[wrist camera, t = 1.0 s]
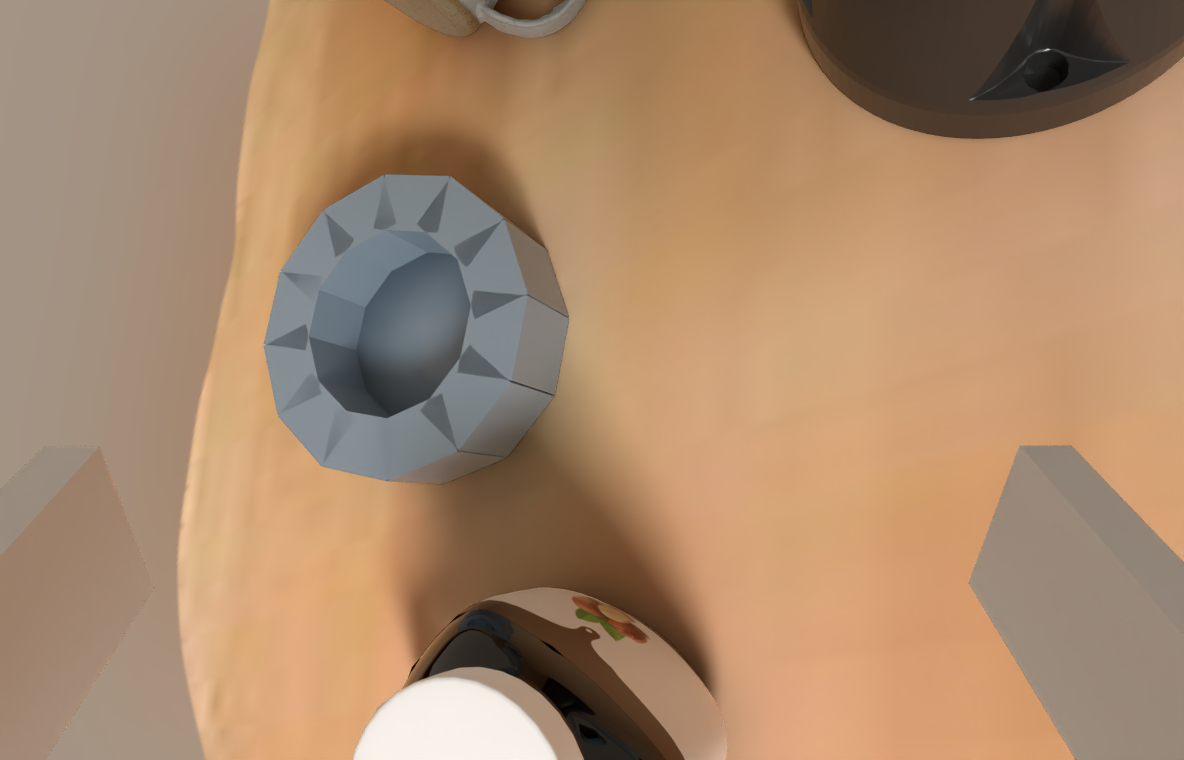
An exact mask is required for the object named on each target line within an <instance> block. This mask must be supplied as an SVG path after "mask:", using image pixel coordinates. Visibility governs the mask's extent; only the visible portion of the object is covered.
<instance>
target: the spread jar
mask: <svg viewBox="0 0 1184 760" xmlns="http://www.w3.org/2000/svg"><path fill="white" fill-rule="evenodd" d="M726 756H727V734H726V728H725V722H724V719H723V717H722V714H721V712H720V709H719V707H718V706H717V704H716V702H715V700H714V699H713V697H712V695H711V693H710V692H709V690H708V689H707V687H706V686H705V684H704V683H703V681H702V680H701V678H700V677H699V676H698V674H697V673H696V672H695V670H694V669H693V668H692V667H691V665H690V664H689V663H688V662H687V661H686V659H685V658H684V657H683V656H682V655H681V654H680V653H679V652H678V651H677V650H676V649H675V648H674V647H673V646H672V645H671V644H670V643H669V642H668V641H667V640H666V639H665V638H664V637H662V636H661V635H660V634H659V633H658V632H656V631H655V630H654V629H652V628H651V627H649V626H648V625H647V624H645V623H644V622H642V621H640V620H639V619H637V618H636V617H634V616H632V615H630V614H628V613H626V612H625V611H623V610H620V609H618V608H616V607H614V606H612V605H609V604H607V603H605V602H602V601H600V600H598V599H595V598H593V597H590V596H588V595H585V594H582V593H578V592H575V591H571V590H566V589H560V588H550V587H539V588H533V589H527V590H521V591H516V592H511V593H506V594H501V595H497V596H493V597H490V598H486V599H484V600H482V601H480V602H478V603H476V604H474V605H472V606H470V607H468V608H466V609H465V610H464V611H463V612H461V613H460V614H459V615H457V616H456V617H455V618H454V619H453V620H452V621H451V622H450V623H449V624H448V625H447V626H446V627H445V628H444V629H443V630H442V631H441V632H440V633H439V634H438V635H437V637H436V638H435V639H434V640H433V641H432V642H431V644H430V645H429V646H428V647H427V649H426V650H425V652H424V653H423V654H422V656H421V657H420V658H419V660H418V661H417V662H416V663H415V664H414V665H413V667H412V669H411V671H410V674H409V677H408V679H407V681H406V683H405V685H404V687H403V689H402V690H400V691H398V692H396V693H395V694H394V695H393V696H392V697H391V698H390V699H388V700H387V701H385V702H384V703H382V704H381V705H380V706H379V707H378V708H377V710H376V712H375V714H374V716H373V717H372V719H371V720H370V721H369V723H368V724H367V725H366V727H365V729H364V731H363V734H362V736H361V738H360V740H359V742H358V744H357V746H356V749H355V752H354V756H353V759H352V760H726Z"/></svg>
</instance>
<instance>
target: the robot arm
mask: <svg viewBox="0 0 1184 760" xmlns="http://www.w3.org/2000/svg"><path fill="white" fill-rule="evenodd" d="M796 1H797V6H798V11H799V16H800V20H801V25H802V29H803V32H804V35H805V38H806V41H807V43H808V45H809V48H810V50H811V52H812V54H813V56H814V58H815V59H816V61H817V63H818V64H819V66H820V67H821V69H822V70H823V72H824V73H825V74H826V75H827V77H828V78H829V79H830V80H831V82H832V83H833V84H834V85H835V86H836V87H837V88H838V89H839V90H840V91H841V92H842V93H844V94H845V95H846V96H847V97H848V98H849V99H851V100H852V101H853V102H855V103H856V104H858V105H859V106H860V107H862V108H864V109H865V110H867V111H869V112H870V113H872V114H874V115H876V116H878V117H880V118H882V119H884V120H886V121H888V122H891V123H893V124H896V125H898V126H901V127H904V128H908V129H911V130H914V131H918V132H922V133H926V134H932V135H938V136H944V137H954V138H971V139H983V138H1001V137H1012V136H1018V135H1025V134H1031V133H1035V132H1040V131H1044V130H1048V129H1052V128H1056V127H1059V126H1063V125H1066V124H1069V123H1072V122H1075V121H1078V120H1080V119H1083V118H1086V117H1088V116H1090V115H1093V114H1095V113H1098V112H1100V111H1102V110H1104V109H1106V108H1108V107H1110V106H1112V105H1114V104H1116V103H1118V102H1120V101H1122V100H1124V99H1125V98H1127V97H1129V96H1131V95H1133V94H1134V93H1136V92H1137V91H1139V90H1140V89H1142V88H1144V87H1145V86H1147V85H1148V84H1150V83H1151V82H1152V81H1154V80H1155V79H1157V78H1158V77H1159V76H1161V75H1162V74H1163V73H1165V72H1166V71H1167V70H1168V69H1169V68H1171V67H1172V66H1173V65H1174V64H1175V63H1177V62H1178V61H1179V60H1180V59H1181V58H1182V57H1183V56H1184V0H796ZM969 584H970V586H971V588H972V589H973V591H974V593H975V594H976V596H977V598H978V599H979V601H980V603H981V604H982V606H983V608H984V609H985V611H986V613H987V614H988V616H989V618H990V619H991V621H992V623H993V624H994V626H995V627H996V629H997V631H998V632H999V634H1000V636H1001V637H1002V639H1003V641H1004V642H1005V644H1006V646H1007V647H1008V649H1009V651H1010V652H1011V654H1012V656H1013V657H1014V659H1015V661H1016V662H1017V664H1018V665H1019V667H1020V669H1021V670H1022V672H1023V674H1024V675H1025V677H1026V679H1027V680H1028V682H1029V684H1030V685H1031V687H1032V689H1033V690H1034V692H1035V694H1036V695H1037V697H1038V699H1039V700H1040V702H1041V704H1042V705H1043V707H1044V708H1045V710H1046V712H1047V713H1048V715H1049V717H1050V718H1051V720H1052V722H1053V723H1054V725H1055V727H1056V728H1057V730H1058V732H1059V733H1060V735H1061V737H1062V738H1063V740H1064V742H1065V743H1066V745H1067V747H1068V748H1069V750H1070V751H1071V753H1072V755H1073V756H1074V758H1075V760H1184V562H1183V561H1182V560H1181V559H1180V558H1179V557H1178V556H1177V555H1176V554H1175V553H1174V552H1173V551H1172V550H1171V549H1170V547H1169V546H1168V545H1167V544H1166V543H1165V542H1164V541H1163V540H1162V539H1161V538H1160V537H1159V536H1158V535H1157V534H1156V533H1155V532H1154V531H1153V530H1152V529H1151V528H1150V527H1149V526H1148V525H1147V524H1146V523H1145V522H1144V520H1143V519H1142V518H1141V517H1140V516H1139V515H1138V514H1137V513H1136V512H1135V511H1134V510H1133V509H1132V508H1131V507H1130V506H1129V505H1128V504H1127V503H1126V502H1125V501H1124V500H1123V499H1122V498H1121V497H1120V496H1119V495H1118V493H1117V492H1116V491H1115V490H1114V489H1113V488H1112V487H1111V486H1110V485H1109V484H1108V483H1107V482H1106V481H1105V480H1104V479H1103V478H1102V477H1101V476H1100V475H1099V474H1098V473H1097V472H1096V471H1095V470H1094V469H1093V468H1092V466H1091V465H1090V464H1089V463H1088V462H1087V461H1086V460H1085V459H1084V458H1083V457H1082V456H1081V455H1080V454H1079V453H1078V452H1077V451H1076V450H1075V449H1074V448H1073V447H1072V446H1019V449H1018V452H1017V454H1016V457H1015V460H1014V462H1013V465H1012V468H1011V470H1010V473H1009V476H1008V478H1007V481H1006V484H1005V486H1004V489H1003V492H1002V495H1001V497H1000V500H999V503H998V505H997V508H996V511H995V513H994V516H993V519H992V521H991V524H990V527H989V529H988V532H987V535H986V538H985V540H984V543H983V546H982V548H981V551H980V554H979V556H978V559H977V562H976V564H975V567H974V570H973V572H972V575H971V578H970V581H969ZM153 589H154V586H153V583H152V580H151V578H150V575H149V573H148V570H147V568H146V565H145V562H144V560H143V557H142V555H141V552H140V550H139V547H138V544H137V542H136V539H135V537H134V534H133V532H132V529H131V527H130V524H129V522H128V519H127V516H126V514H125V511H124V508H123V506H122V503H121V501H120V498H119V496H118V493H117V490H116V488H115V485H114V482H113V480H112V477H111V475H110V472H109V470H108V467H107V464H106V462H105V460H104V457H103V454H102V452H101V449H100V447H43V448H42V449H41V450H40V451H39V452H38V453H37V454H36V455H35V456H34V457H33V458H32V459H31V460H30V461H29V462H28V463H27V464H26V465H25V466H24V467H23V468H22V469H21V470H20V471H19V472H18V473H17V474H16V475H15V476H14V477H13V478H12V479H11V480H10V481H9V482H8V483H6V484H5V486H3V488H1V489H0V760H46V759H47V757H48V756H49V754H50V752H51V751H52V749H53V748H54V746H55V744H56V743H57V741H58V739H59V738H60V736H61V735H62V733H63V732H64V730H65V728H66V727H67V725H68V724H69V722H70V721H71V719H72V717H73V716H74V714H75V713H76V711H77V710H78V708H79V706H80V705H81V703H82V702H83V700H84V698H85V697H86V695H87V694H88V692H89V690H90V689H91V687H92V686H93V684H94V683H95V681H96V679H97V678H98V676H99V675H100V673H101V672H102V670H103V668H104V667H105V665H106V663H107V662H108V660H109V659H110V657H111V656H112V654H113V653H114V651H115V649H116V648H117V646H118V644H119V643H120V641H121V640H122V638H123V637H124V635H125V634H126V632H127V630H128V629H129V627H130V626H131V624H132V622H133V621H134V619H135V618H136V616H137V615H138V613H139V611H140V610H141V608H142V607H143V605H144V603H145V602H146V600H147V599H148V597H149V596H150V594H151V592H152V591H153Z"/></svg>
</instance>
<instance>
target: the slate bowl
mask: <svg viewBox="0 0 1184 760" xmlns="http://www.w3.org/2000/svg"><path fill="white" fill-rule="evenodd" d="M281 271H282V272H280V274H279V279H278V283H277V288H276V292H275V297H274V301H273V306H272V310H271V315H270V319H269V323H268V328H267V332H266V337H265V341H264V344H265V346H264V349H265V354H266V359H267V364H268V369H269V374H270V379H271V384H272V389H273V394H274V399H275V404H276V409H277V414H278V415H279V416H278V417H279V418H280V419H281V420H282V421H283V422H284V424H285V425H286V426H287V427H288V428H289V429H290V431H291V432H292V433H293V434H294V435H295V436H296V437H297V439H298V440H299V441H300V442H301V443H302V444H303V445H304V447H305V448H306V449H307V450H308V451H309V452H310V454H311V455H312V456H313V457H314V458H315V459H316V460H317V462H318V463H319V464H320V465H321V466H323V467H326V468H330V469H335V470H339V471H344V472H348V473H353V474H357V475H362V476H366V477H370V478H375V479H379V480H384V481H392V482H410V483H428V484H445V483H447V482H450V481H452V480H454V479H457V478H459V477H462V476H464V475H467V474H469V473H471V472H474V471H476V470H479V469H481V468H483V467H486V466H488V465H491V464H493V463H495V462H498V461H500V460H503V459H505V458H506V457H508V456H509V455H510V453H511V452H512V451H513V449H514V448H515V447H516V446H517V444H518V443H519V442H520V440H521V439H522V438H523V436H524V435H525V434H526V433H527V431H528V430H529V429H530V427H531V426H532V425H533V423H534V422H535V421H536V420H537V418H538V417H539V416H540V414H541V413H542V412H543V411H544V409H545V408H546V407H547V405H548V404H549V403H550V401H551V400H552V399H553V398H554V396H553V395H555V392H556V387H557V382H558V376H559V371H560V366H561V360H562V355H563V349H564V344H565V339H566V333H567V328H568V323H569V319H568V317H569V315H568V312H567V309H566V306H565V303H564V300H563V297H562V294H561V291H560V288H559V285H558V282H557V279H556V276H555V273H554V270H553V267H552V264H551V261H550V258H549V255H548V252H547V250H546V249H545V248H544V247H543V246H542V245H540V244H539V243H538V242H537V241H535V240H534V239H533V238H532V237H530V236H529V235H528V234H526V233H525V232H524V231H523V230H521V229H520V228H519V227H518V226H516V225H515V224H514V223H513V222H511V221H510V220H509V219H507V218H506V217H505V216H504V215H502V214H501V213H500V212H499V211H497V210H496V209H495V208H493V207H492V206H491V205H489V204H488V203H486V202H485V201H484V200H482V199H481V198H480V197H478V196H477V195H476V194H474V193H473V192H471V191H470V190H469V189H467V188H466V187H465V186H463V185H462V184H461V183H459V182H458V181H456V180H455V179H454V178H452V177H450V176H431V175H391V174H385V175H382V176H381V177H379V178H377V179H375V180H374V181H372V182H370V183H368V184H367V185H365V186H363V187H362V188H360V189H358V190H356V191H355V192H353V193H351V194H349V195H348V196H346V197H344V198H343V199H341V200H339V201H337V202H336V203H334V204H332V205H330V206H329V207H327V208H325V209H324V211H322V212H321V214H320V215H319V216H318V218H317V219H316V221H315V222H314V224H313V225H312V226H311V228H310V229H309V231H308V232H307V234H306V235H305V236H304V238H303V239H302V241H301V242H300V244H299V245H298V246H297V248H296V249H295V251H294V252H293V254H292V255H291V256H290V258H289V259H288V261H287V262H286V264H285V265H284V266H283V268H282V269H281ZM552 394H553V395H552Z"/></svg>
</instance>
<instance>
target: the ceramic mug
mask: <svg viewBox="0 0 1184 760" xmlns="http://www.w3.org/2000/svg"><path fill="white" fill-rule="evenodd" d="M385 1H386V2H388V3H389V4H391V5H392V6H394V7H395V8H397V9H398V10H400V11H401V12H403V13H404V14H406V15H407V16H409V17H411V18H413V19H414V20H416V21H418V22H419V23H421V24H423V25H425V26H427V27H429V28H431V29H433V30H435V31H438V32H441V33H443V34H445V35H449V36H453V37H465V36H468V35H471V34H473V33H474V32H476V31H477V29H478V28H479V26H480V25H481V24H482V23H483V22H487V23H488V24H490V25H491V26H493V27H495V28H496V29H497V30H499V31H502V32H504V33H508V34H511V35H515V36H519V37H526V38H539V37H545V36H548V35H551V34H553V33H555V32H557V31H558V30H560V29H562V28H563V27H565V26H566V25H567V24H569V23H570V22H571V21H572V20H573V19H574V17H575V16H576V15H577V14H578V12H579V11H580V9H581V8H582V6H583V5H584V3H585V1H586V0H565V1H564V2H562V3H560V4H559V5H557V6H555V7H554V8H553V10H552V12H551V13H550V14H545V15H543V16H542V17H541V18H539V19H535V20H525V19H521V20H517V19H515V18H513V17H509V16H506V15H503V14H500V13H498V12H497V11H495V10H493V8H494V7H495V5H496V3H497V1H498V0H385Z"/></svg>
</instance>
